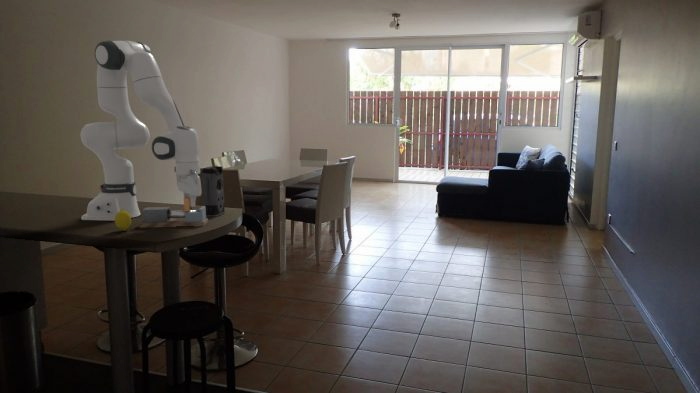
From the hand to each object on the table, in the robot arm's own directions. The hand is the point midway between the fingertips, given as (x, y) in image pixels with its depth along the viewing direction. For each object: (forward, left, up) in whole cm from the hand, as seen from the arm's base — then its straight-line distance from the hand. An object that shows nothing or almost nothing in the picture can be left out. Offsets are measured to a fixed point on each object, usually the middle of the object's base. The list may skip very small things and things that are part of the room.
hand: (190, 204), depth 206 cm
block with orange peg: (-5, 0, -5) cm, 7 cm away
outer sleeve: (-13, 0, -6) cm, 14 cm away
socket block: (+2, 0, -6) cm, 6 cm away
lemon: (-22, -9, -8) cm, 25 cm away
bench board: (-6, 0, -8) cm, 10 cm away
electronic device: (+6, +18, -8) cm, 20 cm away
